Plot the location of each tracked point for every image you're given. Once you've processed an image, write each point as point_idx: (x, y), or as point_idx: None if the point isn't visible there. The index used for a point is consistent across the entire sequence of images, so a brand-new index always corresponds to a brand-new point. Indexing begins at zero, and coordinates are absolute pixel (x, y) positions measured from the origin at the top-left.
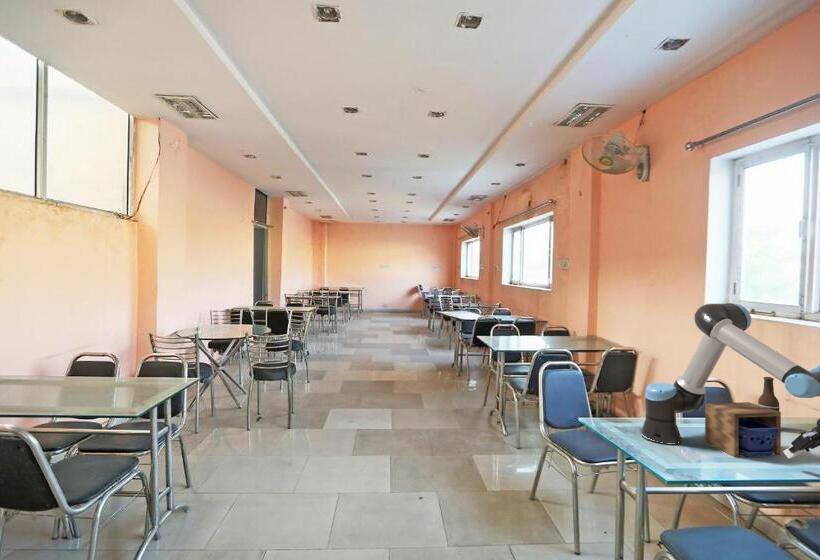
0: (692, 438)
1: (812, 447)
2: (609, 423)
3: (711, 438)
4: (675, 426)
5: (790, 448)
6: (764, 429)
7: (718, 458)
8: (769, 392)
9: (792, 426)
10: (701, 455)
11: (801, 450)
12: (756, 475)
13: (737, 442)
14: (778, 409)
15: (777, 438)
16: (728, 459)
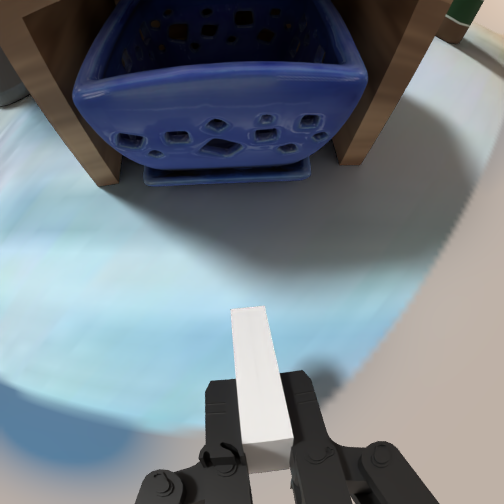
0: None
1: (353, 495)
2: None
3: None
4: None
5: (206, 406)
6: (224, 79)
7: (29, 203)
8: None
9: (488, 48)
10: (5, 178)
11: (254, 472)
12: (32, 384)
13: (84, 140)
14: (479, 3)
15: (372, 110)
16: (54, 211)
